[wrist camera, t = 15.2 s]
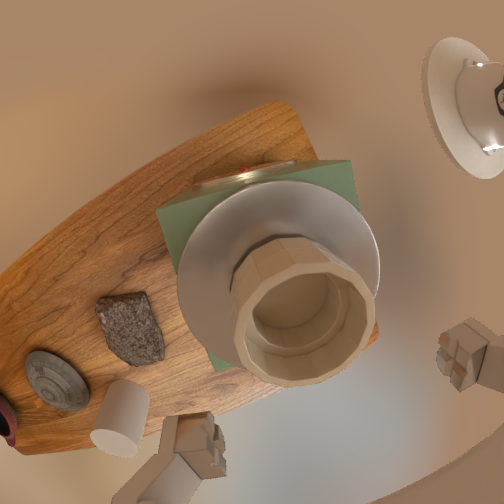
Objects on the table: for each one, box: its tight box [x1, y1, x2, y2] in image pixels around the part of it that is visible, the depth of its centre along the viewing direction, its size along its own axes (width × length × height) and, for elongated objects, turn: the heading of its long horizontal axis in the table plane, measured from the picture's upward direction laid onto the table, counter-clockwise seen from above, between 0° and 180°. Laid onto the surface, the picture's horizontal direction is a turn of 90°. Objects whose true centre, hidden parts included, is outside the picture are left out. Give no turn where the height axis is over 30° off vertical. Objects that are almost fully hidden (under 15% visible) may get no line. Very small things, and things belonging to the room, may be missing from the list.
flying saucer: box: [25, 351, 90, 411], centre depth 40 cm, size 15×15×6 cm
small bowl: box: [230, 237, 375, 388], centre depth 14 cm, size 6×6×4 cm
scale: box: [156, 158, 380, 371], centre depth 27 cm, size 12×13×23 cm
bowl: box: [0, 394, 18, 447], centre depth 41 cm, size 16×13×8 cm
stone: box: [95, 292, 165, 367], centre depth 39 cm, size 12×9×4 cm
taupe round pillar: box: [90, 380, 150, 458], centre depth 39 cm, size 8×8×12 cm
